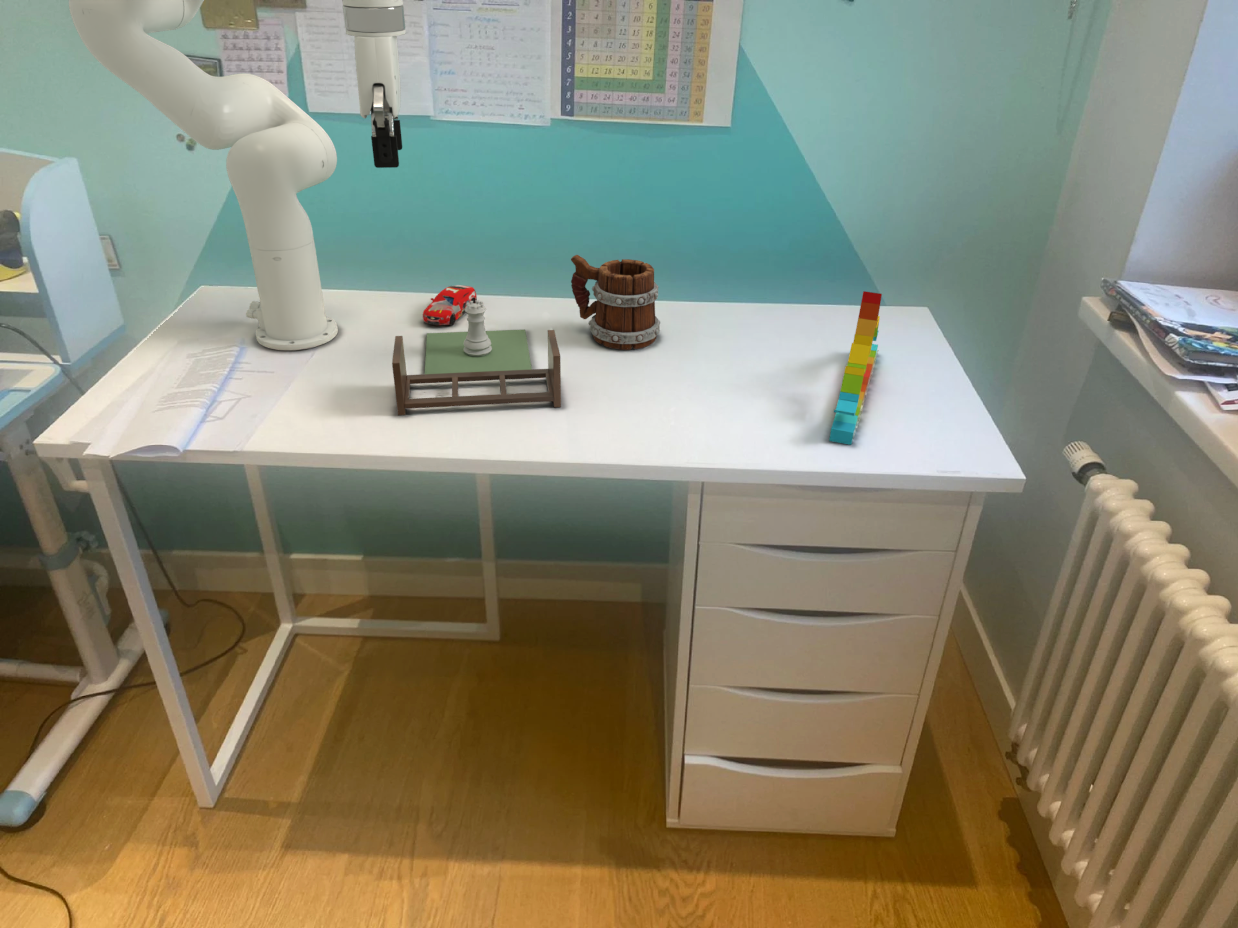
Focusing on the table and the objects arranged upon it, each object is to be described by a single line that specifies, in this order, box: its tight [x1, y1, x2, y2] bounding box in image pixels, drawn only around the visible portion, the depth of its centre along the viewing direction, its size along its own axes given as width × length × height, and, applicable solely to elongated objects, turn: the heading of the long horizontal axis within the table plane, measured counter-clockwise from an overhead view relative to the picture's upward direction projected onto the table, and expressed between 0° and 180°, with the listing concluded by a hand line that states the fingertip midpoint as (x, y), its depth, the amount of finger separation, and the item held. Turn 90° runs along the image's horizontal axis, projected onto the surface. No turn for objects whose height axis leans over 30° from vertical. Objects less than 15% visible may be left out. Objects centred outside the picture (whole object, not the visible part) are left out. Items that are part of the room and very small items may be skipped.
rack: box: [391, 329, 562, 416], centre depth 130 cm, size 9×23×8 cm, turn 99°
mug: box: [570, 254, 661, 351], centre depth 148 cm, size 12×14×15 cm
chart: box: [828, 290, 883, 446], centre depth 132 cm, size 30×3×15 cm, turn 160°
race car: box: [422, 284, 478, 326], centre depth 157 cm, size 13×5×4 cm, turn 161°
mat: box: [424, 329, 533, 374], centre depth 144 cm, size 16×16×1 cm
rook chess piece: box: [464, 300, 492, 357], centre depth 142 cm, size 4×4×8 cm
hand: (389, 158), depth 127 cm, fingers open, 9 cm apart
